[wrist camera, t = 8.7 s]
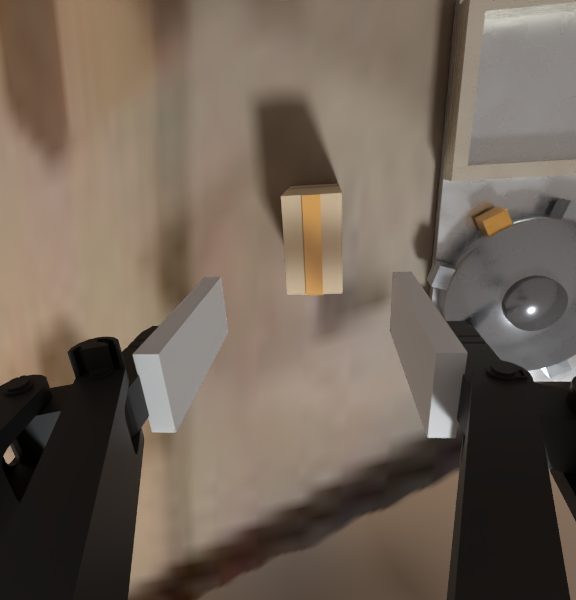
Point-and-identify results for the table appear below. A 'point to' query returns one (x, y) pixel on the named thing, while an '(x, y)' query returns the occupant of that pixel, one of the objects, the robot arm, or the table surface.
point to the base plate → (507, 120)
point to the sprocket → (517, 286)
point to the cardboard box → (313, 239)
